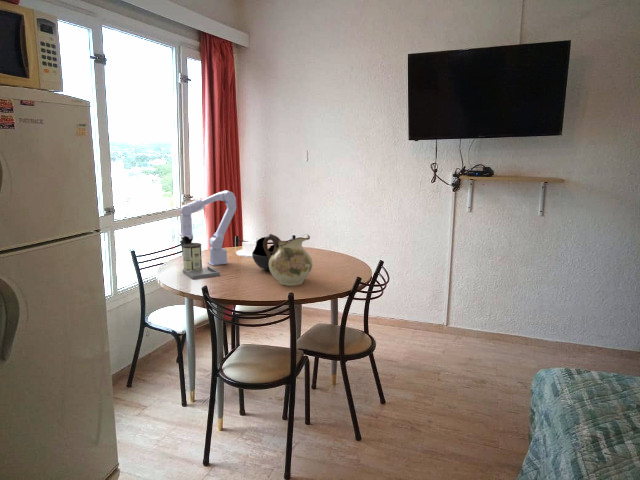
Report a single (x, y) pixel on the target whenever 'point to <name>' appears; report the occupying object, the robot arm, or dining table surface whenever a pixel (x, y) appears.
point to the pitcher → (288, 260)
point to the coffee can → (192, 256)
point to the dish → (247, 249)
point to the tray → (202, 273)
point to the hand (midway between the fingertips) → (187, 249)
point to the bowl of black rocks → (262, 254)
